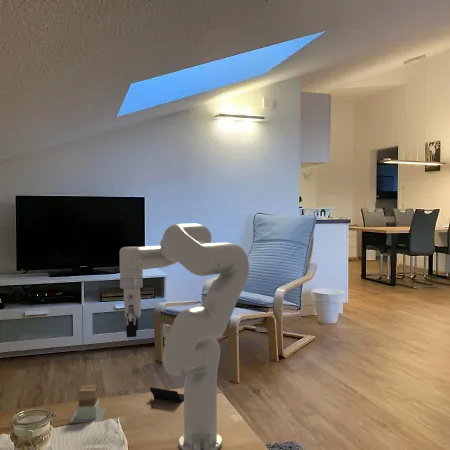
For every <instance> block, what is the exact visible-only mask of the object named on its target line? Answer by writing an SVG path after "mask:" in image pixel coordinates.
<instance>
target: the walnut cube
mask: <svg viewBox="0 0 450 450" xmlns="http://www.w3.org/2000/svg"><path fill="white" fill-rule="evenodd" d="M98 389H99V388H98V385H97V384H90V385H89V384H88V385H81V387H80V388H79V391H78V404H79V407H81V406H95V404H96V402H97V400H98V399H99V397H98V396H99V393H98Z"/></svg>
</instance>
